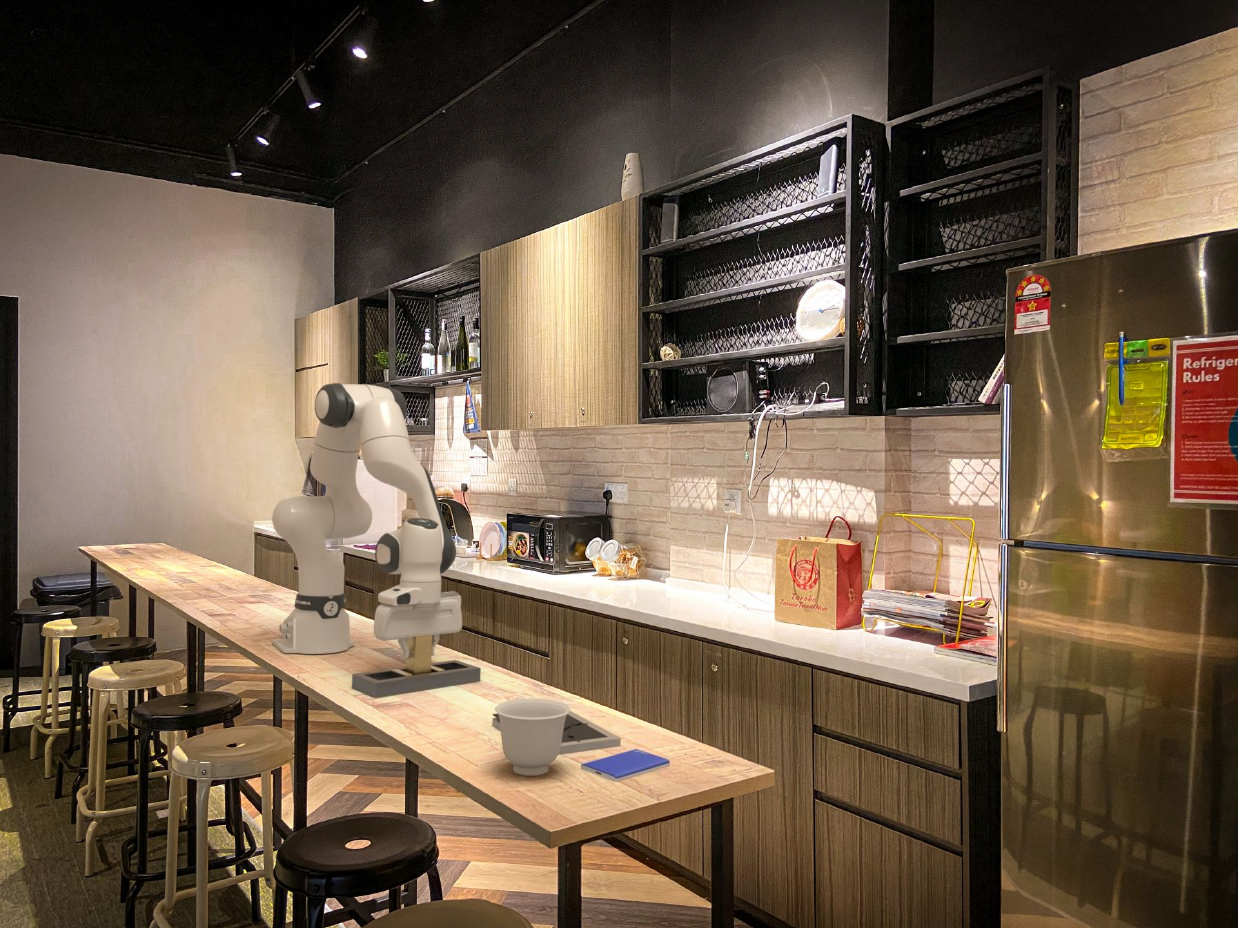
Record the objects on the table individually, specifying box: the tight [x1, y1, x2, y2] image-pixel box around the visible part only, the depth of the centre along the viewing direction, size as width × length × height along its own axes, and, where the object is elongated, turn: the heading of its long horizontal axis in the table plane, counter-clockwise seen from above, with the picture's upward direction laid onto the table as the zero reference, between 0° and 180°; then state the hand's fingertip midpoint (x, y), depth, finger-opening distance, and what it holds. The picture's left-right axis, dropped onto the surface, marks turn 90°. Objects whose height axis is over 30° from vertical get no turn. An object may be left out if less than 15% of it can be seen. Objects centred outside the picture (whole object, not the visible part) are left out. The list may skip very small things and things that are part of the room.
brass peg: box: [404, 635, 432, 676], centre depth 204 cm, size 4×4×10 cm
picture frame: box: [491, 710, 622, 756], centre depth 169 cm, size 16×3×21 cm
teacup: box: [494, 696, 571, 777], centre depth 150 cm, size 12×15×10 cm
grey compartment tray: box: [351, 659, 482, 699], centre depth 204 cm, size 10×26×3 cm, turn 132°
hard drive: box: [580, 748, 671, 783], centre depth 152 cm, size 2×8×12 cm
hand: (418, 656), depth 204 cm, fingers closed on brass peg, 4 cm apart
